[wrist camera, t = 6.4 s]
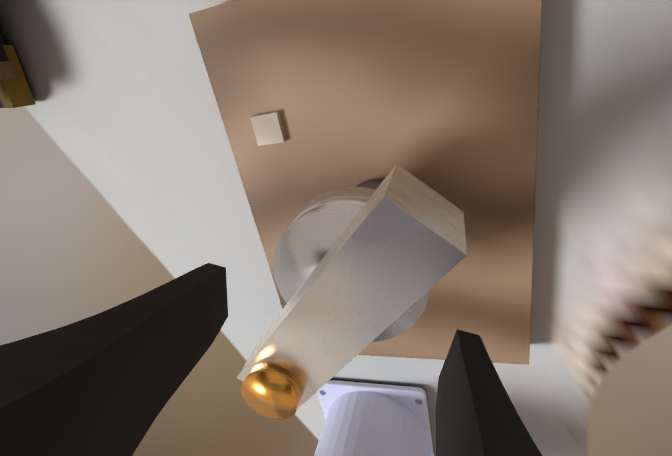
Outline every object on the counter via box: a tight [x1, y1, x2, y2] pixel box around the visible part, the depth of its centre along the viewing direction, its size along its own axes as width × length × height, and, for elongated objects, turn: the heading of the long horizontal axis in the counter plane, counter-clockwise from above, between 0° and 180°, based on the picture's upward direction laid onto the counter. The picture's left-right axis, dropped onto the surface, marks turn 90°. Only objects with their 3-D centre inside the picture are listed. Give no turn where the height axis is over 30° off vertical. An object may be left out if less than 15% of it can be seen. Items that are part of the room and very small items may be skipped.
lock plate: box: [189, 0, 542, 365], centre depth 17 cm, size 20×14×6 cm
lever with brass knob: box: [237, 164, 467, 420], centre depth 13 cm, size 9×6×5 cm, turn 148°
